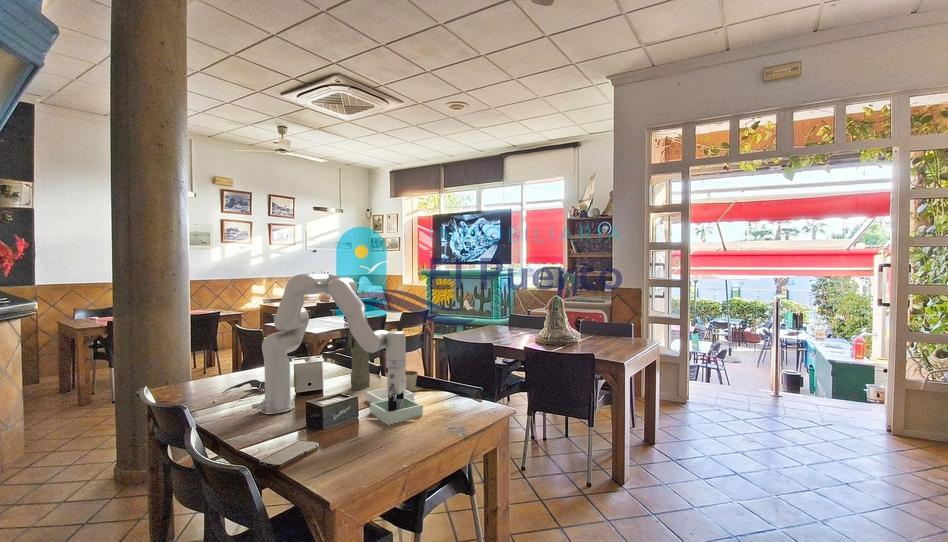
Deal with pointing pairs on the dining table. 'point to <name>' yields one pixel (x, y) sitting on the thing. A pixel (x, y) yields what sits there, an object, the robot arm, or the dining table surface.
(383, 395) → the bin
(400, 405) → the gray cube
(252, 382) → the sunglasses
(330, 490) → the dining table surface
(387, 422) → the bin
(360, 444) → the dining table surface
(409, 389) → the flower pot
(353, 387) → the olive green tall block
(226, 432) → the dining table surface
